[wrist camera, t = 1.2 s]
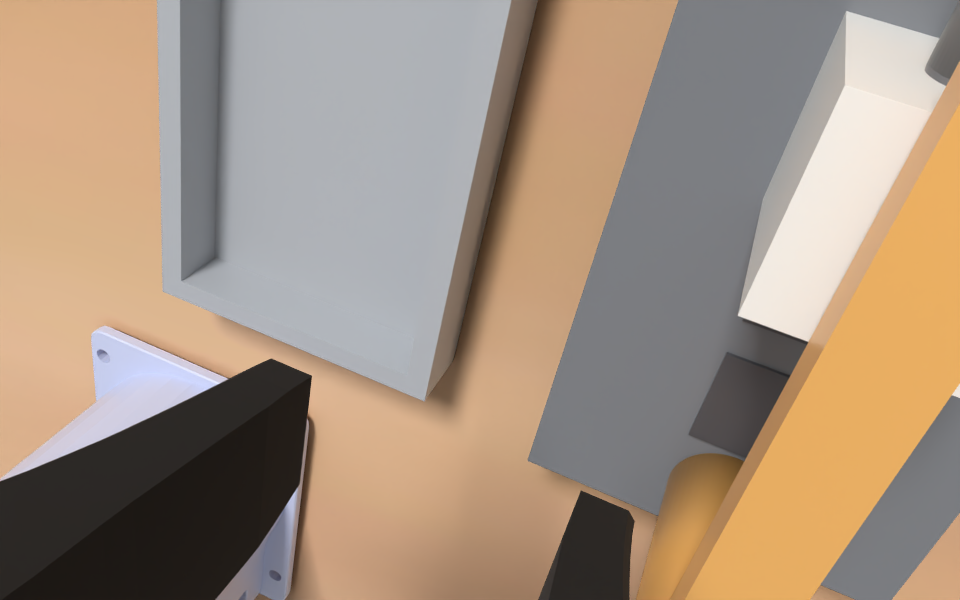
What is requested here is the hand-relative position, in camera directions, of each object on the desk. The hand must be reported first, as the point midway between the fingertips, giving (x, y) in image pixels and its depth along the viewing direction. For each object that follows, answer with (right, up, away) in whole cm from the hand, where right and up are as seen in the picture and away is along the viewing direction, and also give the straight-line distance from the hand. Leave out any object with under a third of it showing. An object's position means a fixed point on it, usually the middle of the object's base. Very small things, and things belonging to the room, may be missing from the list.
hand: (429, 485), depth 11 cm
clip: (+7, +2, +6) cm, 10 cm away
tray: (-2, +8, +9) cm, 12 cm away
